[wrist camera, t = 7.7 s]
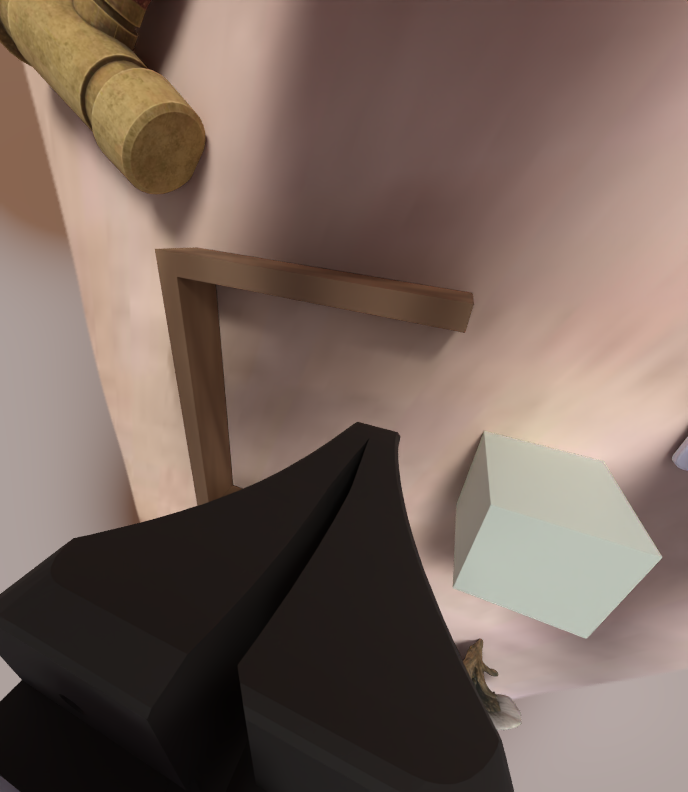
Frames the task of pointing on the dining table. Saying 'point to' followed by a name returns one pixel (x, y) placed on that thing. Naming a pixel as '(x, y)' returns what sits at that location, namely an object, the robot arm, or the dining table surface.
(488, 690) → the eagle figurine
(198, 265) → the wooden frame
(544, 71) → the dining table surface
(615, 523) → the cube
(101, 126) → the gavel
